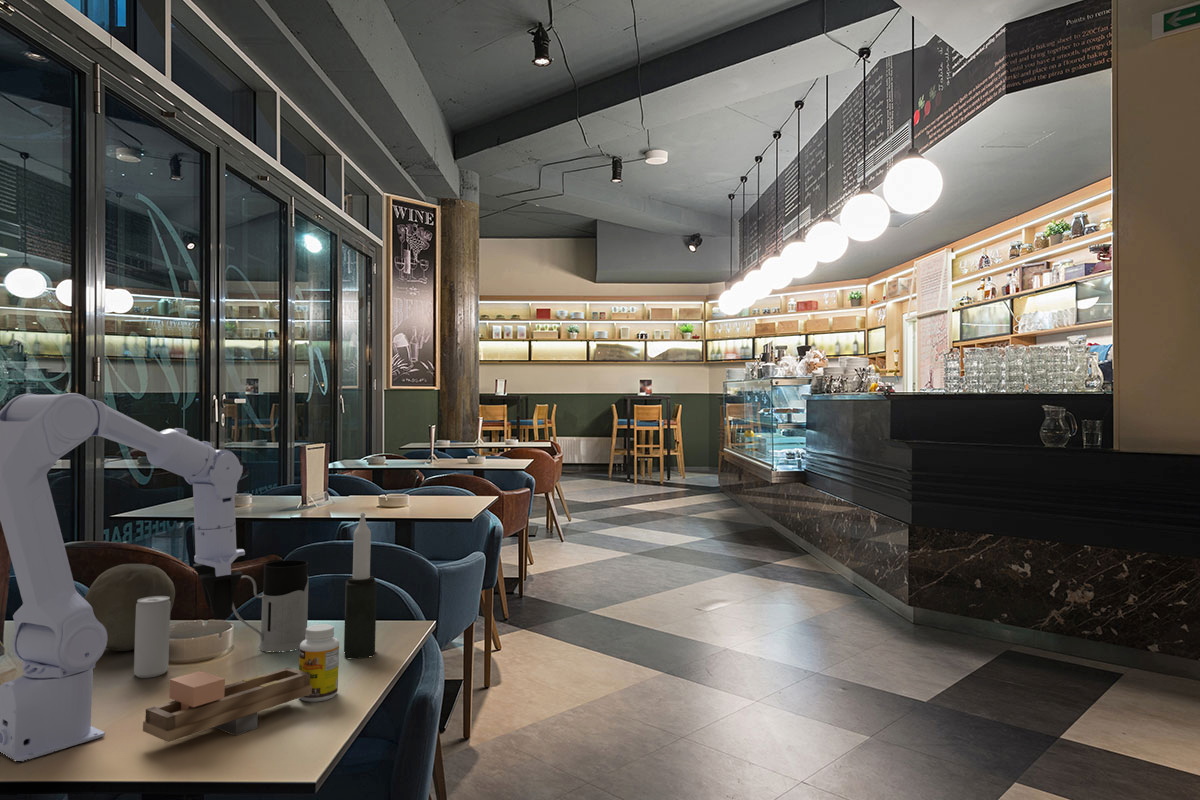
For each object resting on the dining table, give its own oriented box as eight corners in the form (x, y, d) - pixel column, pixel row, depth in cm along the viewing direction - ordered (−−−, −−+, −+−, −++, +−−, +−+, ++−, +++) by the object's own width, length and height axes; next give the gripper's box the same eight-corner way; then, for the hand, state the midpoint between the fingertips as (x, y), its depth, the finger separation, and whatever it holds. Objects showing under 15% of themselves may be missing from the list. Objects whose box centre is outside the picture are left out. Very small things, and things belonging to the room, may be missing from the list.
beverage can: (151, 679, 117) (154, 603, 118) (125, 677, 118) (128, 601, 119) (175, 670, 122) (177, 596, 123) (149, 668, 123) (152, 595, 124)
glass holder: (317, 645, 137) (320, 563, 137) (237, 662, 126) (240, 573, 127) (296, 636, 143) (299, 557, 143) (218, 651, 132) (221, 567, 133)
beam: (168, 759, 89) (170, 718, 89) (141, 747, 93) (142, 707, 93) (312, 708, 106) (313, 673, 106) (284, 699, 110) (285, 665, 110)
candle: (375, 656, 131) (378, 513, 132) (344, 659, 129) (348, 514, 130) (373, 648, 135) (376, 510, 136) (343, 651, 133) (347, 511, 134)
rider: (192, 721, 92) (194, 687, 92) (168, 711, 95) (169, 679, 95) (223, 711, 95) (224, 678, 96) (199, 702, 98) (200, 670, 99)
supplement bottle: (289, 698, 110) (291, 628, 110) (320, 687, 115) (322, 620, 115) (315, 706, 107) (317, 634, 108) (345, 694, 112) (347, 625, 112)
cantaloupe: (165, 655, 130) (168, 569, 131) (69, 663, 125) (73, 573, 125) (178, 634, 143) (181, 556, 144) (92, 641, 138) (95, 560, 139)
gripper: (251, 529, 112) (254, 618, 113) (235, 515, 124) (238, 596, 125) (198, 536, 108) (202, 628, 109) (187, 521, 120) (191, 604, 121)
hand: (218, 611), depth 116 cm, fingers open, 7 cm apart
